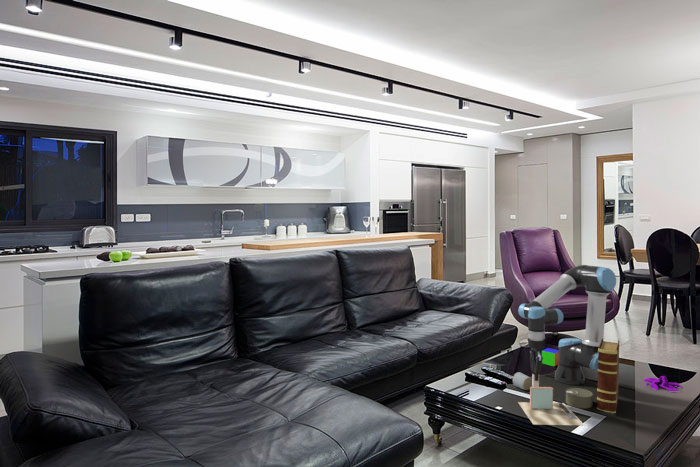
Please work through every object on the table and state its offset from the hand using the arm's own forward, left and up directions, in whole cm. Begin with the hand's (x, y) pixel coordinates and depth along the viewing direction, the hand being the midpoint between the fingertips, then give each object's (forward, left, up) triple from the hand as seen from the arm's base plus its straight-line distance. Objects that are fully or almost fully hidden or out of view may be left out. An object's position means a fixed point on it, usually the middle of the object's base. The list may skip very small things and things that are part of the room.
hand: (535, 386), depth 236 cm
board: (-2, +14, -8) cm, 16 cm away
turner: (-11, +12, -7) cm, 17 cm away
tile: (0, +9, -7) cm, 12 cm away
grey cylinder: (-1, -21, -9) cm, 22 cm away
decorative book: (-34, +1, -9) cm, 35 cm away
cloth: (-74, -26, -9) cm, 79 cm away
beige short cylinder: (-20, +2, -9) cm, 22 cm away
